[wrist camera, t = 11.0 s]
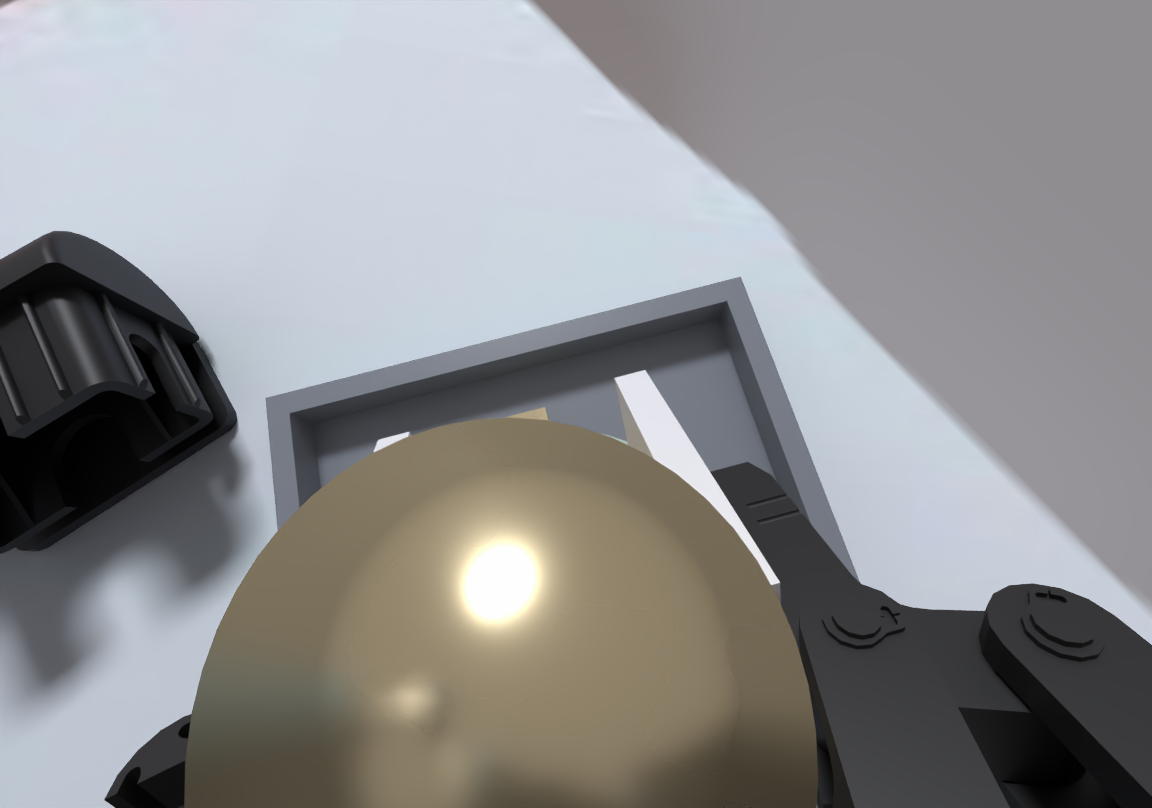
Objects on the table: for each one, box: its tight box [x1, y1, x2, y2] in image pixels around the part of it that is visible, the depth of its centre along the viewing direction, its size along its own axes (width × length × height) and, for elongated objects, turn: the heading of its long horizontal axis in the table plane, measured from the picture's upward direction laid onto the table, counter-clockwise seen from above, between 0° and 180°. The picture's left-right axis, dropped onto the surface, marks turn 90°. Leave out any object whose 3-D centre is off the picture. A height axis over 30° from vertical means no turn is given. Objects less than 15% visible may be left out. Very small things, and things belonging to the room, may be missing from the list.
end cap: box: [0, 231, 237, 554], centre depth 18 cm, size 10×7×7 cm
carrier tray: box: [266, 277, 859, 808], centre depth 18 cm, size 18×18×2 cm
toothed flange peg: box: [184, 407, 818, 808], centre depth 10 cm, size 11×11×12 cm
